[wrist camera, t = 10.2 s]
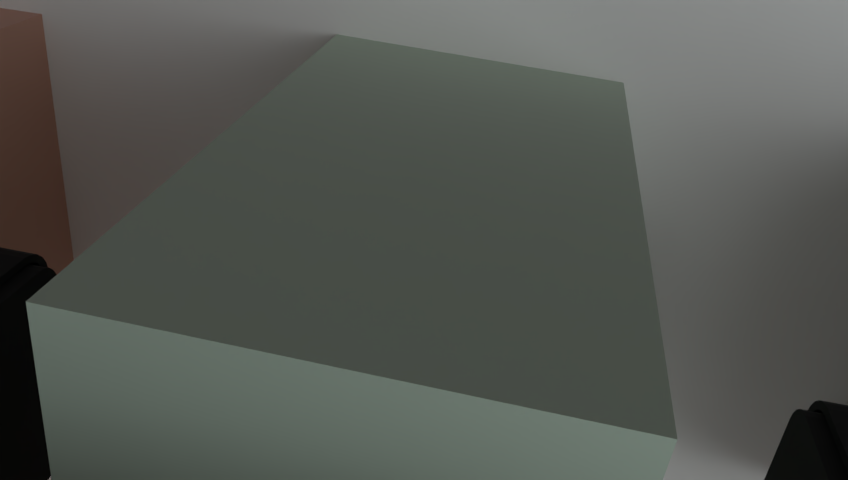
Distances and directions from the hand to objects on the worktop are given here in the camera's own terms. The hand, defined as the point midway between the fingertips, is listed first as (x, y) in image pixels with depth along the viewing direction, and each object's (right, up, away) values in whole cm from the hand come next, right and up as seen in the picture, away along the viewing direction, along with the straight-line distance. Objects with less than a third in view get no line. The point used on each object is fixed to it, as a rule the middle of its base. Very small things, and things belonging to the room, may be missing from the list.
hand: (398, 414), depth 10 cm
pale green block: (+1, +2, +4) cm, 4 cm away
